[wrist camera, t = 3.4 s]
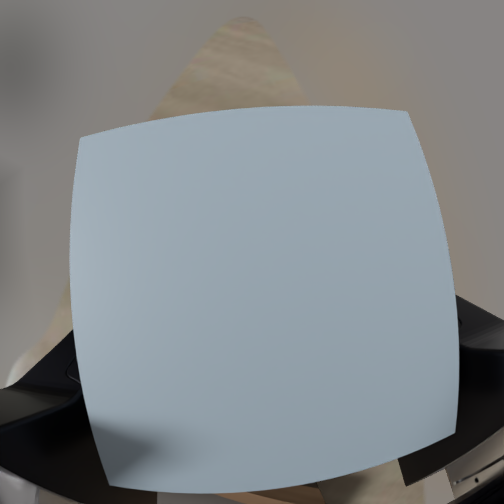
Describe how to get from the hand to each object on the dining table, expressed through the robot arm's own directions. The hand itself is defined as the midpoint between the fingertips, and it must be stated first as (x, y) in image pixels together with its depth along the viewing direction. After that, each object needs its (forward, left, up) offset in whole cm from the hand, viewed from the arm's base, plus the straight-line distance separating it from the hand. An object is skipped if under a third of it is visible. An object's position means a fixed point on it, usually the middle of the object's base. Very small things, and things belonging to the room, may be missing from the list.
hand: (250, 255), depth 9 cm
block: (0, +1, -7) cm, 7 cm away
